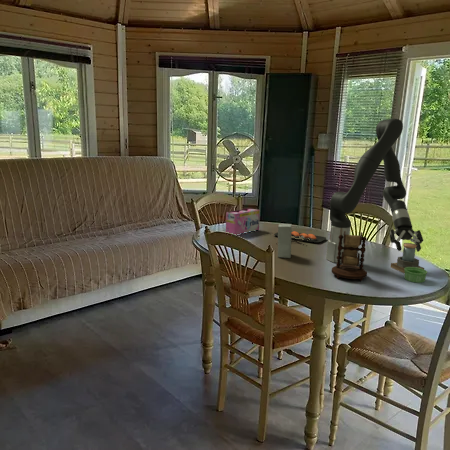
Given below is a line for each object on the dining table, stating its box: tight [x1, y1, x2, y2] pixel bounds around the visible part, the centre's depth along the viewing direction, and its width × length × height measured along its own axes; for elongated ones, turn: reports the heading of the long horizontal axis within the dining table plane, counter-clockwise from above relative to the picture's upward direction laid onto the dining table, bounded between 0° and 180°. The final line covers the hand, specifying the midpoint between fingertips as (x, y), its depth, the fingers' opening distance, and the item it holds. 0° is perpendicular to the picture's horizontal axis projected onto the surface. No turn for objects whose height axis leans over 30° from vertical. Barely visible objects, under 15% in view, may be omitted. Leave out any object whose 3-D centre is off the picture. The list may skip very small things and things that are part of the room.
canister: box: [401, 242, 417, 262], centre depth 186 cm, size 5×5×10 cm
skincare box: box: [277, 223, 293, 259], centre depth 203 cm, size 8×7×16 cm
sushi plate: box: [273, 230, 327, 247], centre depth 234 cm, size 29×30×4 cm
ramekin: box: [403, 267, 428, 284], centre depth 174 cm, size 9×9×4 cm
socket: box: [390, 255, 425, 274], centre depth 187 cm, size 10×10×5 cm
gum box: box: [225, 207, 260, 235], centre depth 250 cm, size 24×8×14 cm, turn 136°
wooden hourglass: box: [331, 231, 368, 282], centre depth 175 cm, size 15×15×20 cm
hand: (409, 250), depth 185 cm, fingers open, 8 cm apart
